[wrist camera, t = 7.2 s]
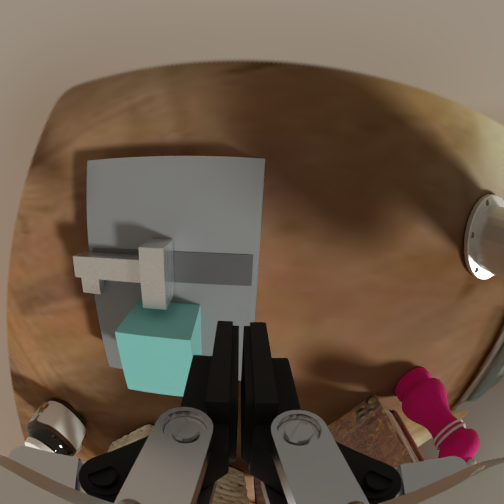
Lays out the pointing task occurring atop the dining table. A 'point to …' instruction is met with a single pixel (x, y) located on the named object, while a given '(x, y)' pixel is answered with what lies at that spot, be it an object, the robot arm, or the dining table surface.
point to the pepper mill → (436, 415)
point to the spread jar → (56, 429)
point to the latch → (132, 271)
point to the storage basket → (228, 487)
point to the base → (180, 234)
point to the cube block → (159, 347)
